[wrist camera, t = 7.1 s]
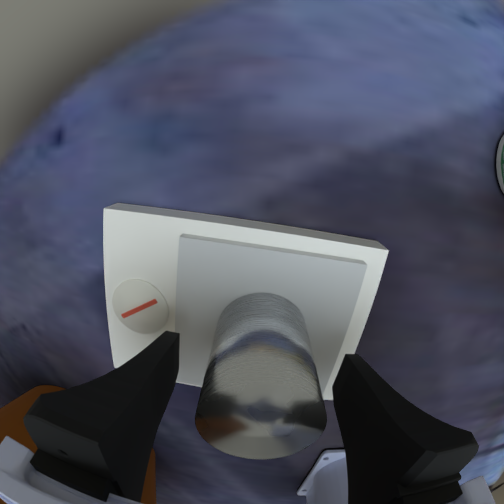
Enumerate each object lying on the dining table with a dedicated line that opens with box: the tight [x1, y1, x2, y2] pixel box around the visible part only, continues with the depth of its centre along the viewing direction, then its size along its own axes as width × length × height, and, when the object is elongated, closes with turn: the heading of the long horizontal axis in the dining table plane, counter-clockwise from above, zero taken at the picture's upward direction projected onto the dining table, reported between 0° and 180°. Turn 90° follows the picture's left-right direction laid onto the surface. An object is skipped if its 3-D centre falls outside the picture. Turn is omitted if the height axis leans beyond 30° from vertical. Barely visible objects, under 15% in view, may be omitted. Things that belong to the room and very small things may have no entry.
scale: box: [103, 203, 389, 400], centre depth 15 cm, size 10×14×2 cm
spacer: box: [195, 292, 327, 459], centre depth 12 cm, size 4×4×6 cm
